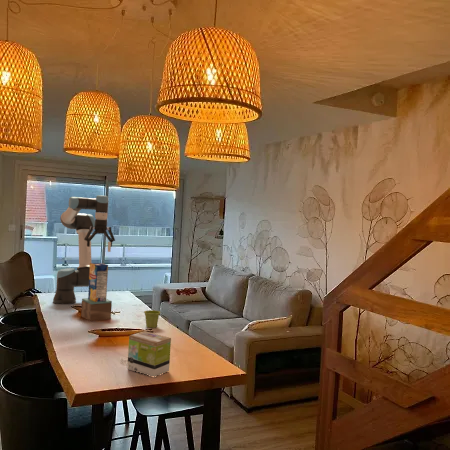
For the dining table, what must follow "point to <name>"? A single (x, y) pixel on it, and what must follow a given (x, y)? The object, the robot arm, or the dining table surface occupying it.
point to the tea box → (149, 353)
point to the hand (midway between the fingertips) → (99, 251)
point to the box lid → (95, 302)
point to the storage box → (96, 311)
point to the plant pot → (151, 318)
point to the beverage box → (98, 282)
